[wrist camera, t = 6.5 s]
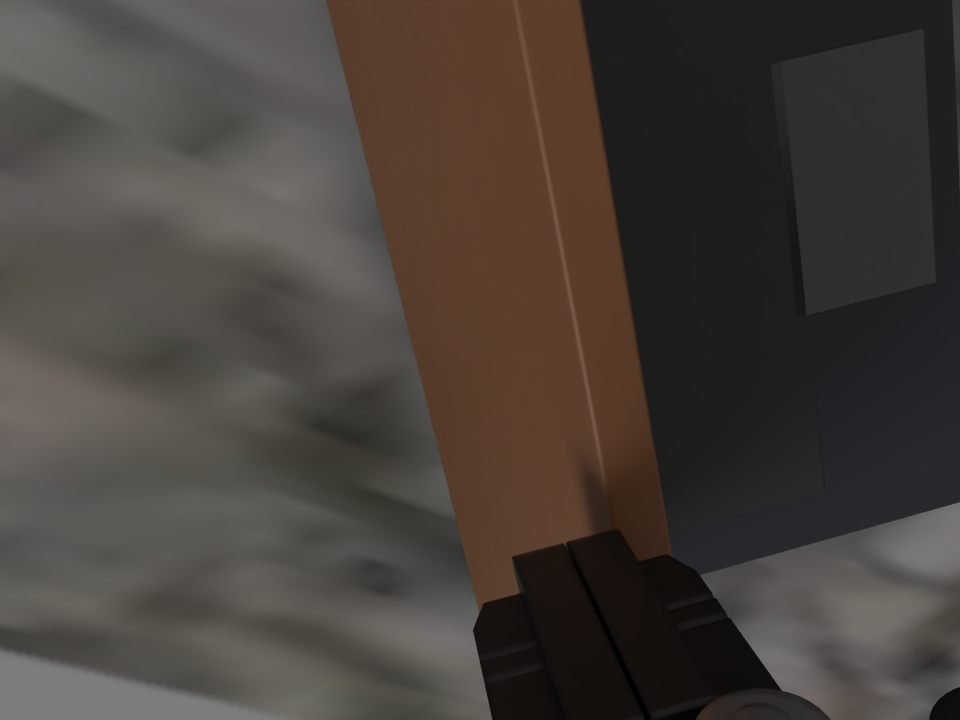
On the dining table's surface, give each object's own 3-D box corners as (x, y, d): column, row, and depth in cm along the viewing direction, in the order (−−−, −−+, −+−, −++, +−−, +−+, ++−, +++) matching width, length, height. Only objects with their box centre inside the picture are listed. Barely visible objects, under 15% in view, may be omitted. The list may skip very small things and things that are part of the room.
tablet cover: (437, -958, 7) (333, -954, 7) (790, 1236, 17) (748, 1256, 17) (311, -180, 27) (282, -175, 27) (506, 629, 36) (485, 636, 36)
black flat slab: (907, -283, 30) (943, -307, 29) (945, 482, 40) (974, 500, 38) (312, -163, 29) (311, -181, 27) (498, 606, 38) (506, 631, 36)
